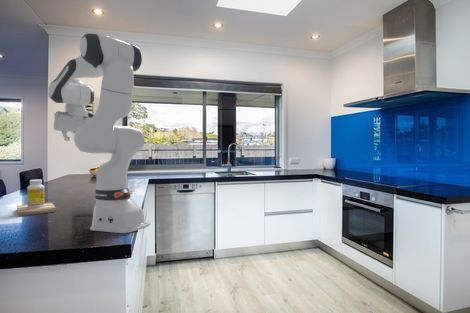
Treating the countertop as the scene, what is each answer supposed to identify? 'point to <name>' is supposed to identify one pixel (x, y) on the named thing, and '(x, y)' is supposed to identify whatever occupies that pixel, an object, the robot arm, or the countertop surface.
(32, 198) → the supplement bottle
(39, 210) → the birch board
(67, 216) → the countertop surface
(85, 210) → the countertop surface
